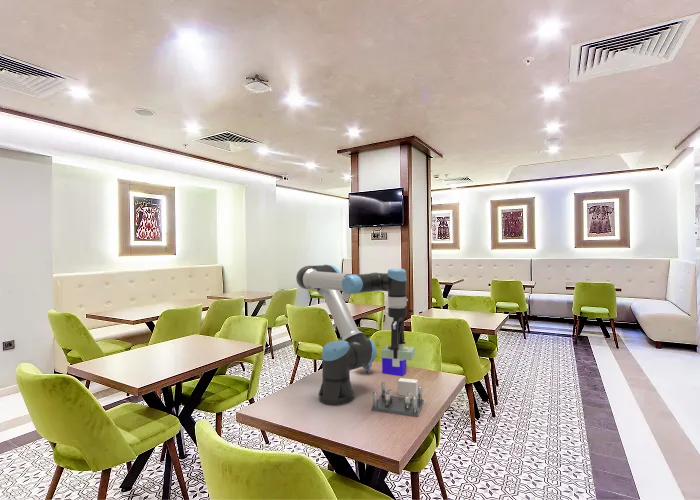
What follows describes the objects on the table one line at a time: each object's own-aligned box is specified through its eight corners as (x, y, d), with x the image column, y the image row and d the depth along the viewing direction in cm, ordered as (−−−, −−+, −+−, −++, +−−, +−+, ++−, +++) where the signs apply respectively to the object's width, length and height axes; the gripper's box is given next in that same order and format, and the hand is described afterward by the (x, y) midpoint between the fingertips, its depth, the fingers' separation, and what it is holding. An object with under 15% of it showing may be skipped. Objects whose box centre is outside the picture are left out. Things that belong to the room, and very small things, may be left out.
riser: (398, 394, 161) (397, 380, 161) (400, 391, 165) (399, 378, 165) (416, 397, 159) (416, 382, 159) (418, 393, 162) (417, 379, 162)
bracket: (402, 376, 186) (402, 353, 186) (382, 373, 191) (381, 350, 191) (413, 366, 201) (413, 344, 202) (394, 364, 206) (394, 342, 207)
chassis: (371, 410, 146) (371, 393, 146) (381, 397, 159) (381, 381, 159) (417, 416, 139) (417, 399, 139) (423, 402, 152) (423, 386, 153)
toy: (354, 370, 195) (354, 342, 195) (372, 368, 198) (371, 340, 198) (361, 377, 185) (360, 347, 185) (379, 375, 188) (379, 345, 188)
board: (381, 357, 148) (381, 348, 148) (386, 352, 156) (385, 343, 156) (411, 360, 145) (411, 350, 145) (414, 354, 152) (414, 345, 152)
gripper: (401, 311, 139) (402, 371, 139) (410, 303, 159) (411, 356, 159) (382, 310, 142) (383, 370, 142) (393, 303, 161) (394, 355, 161)
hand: (398, 363), depth 150 cm, fingers closed on board, 8 cm apart
